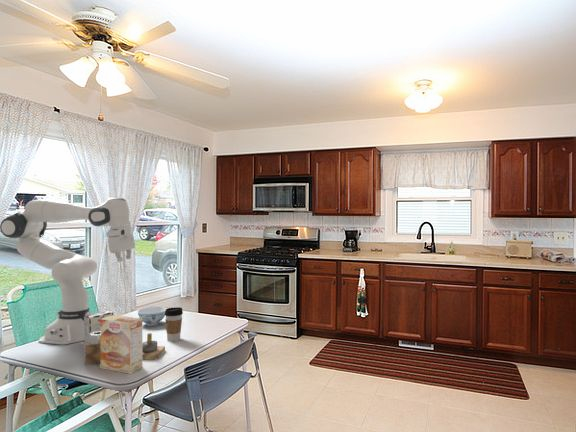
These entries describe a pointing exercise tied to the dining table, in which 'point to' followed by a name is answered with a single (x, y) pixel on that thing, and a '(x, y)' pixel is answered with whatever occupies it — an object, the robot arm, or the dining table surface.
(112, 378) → the dining table surface
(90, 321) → the candy bar box
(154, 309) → the chinaware
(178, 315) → the coffee cup
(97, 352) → the stand
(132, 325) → the coffeecake box
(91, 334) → the faceted octagonal planter
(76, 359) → the dining table surface
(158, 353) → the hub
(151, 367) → the dining table surface
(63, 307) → the robot arm
